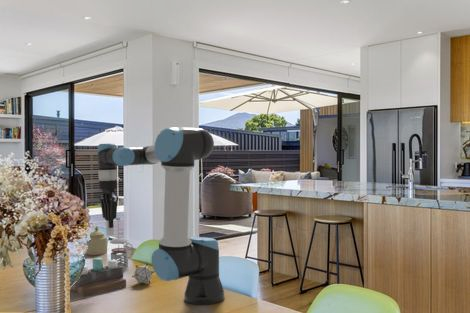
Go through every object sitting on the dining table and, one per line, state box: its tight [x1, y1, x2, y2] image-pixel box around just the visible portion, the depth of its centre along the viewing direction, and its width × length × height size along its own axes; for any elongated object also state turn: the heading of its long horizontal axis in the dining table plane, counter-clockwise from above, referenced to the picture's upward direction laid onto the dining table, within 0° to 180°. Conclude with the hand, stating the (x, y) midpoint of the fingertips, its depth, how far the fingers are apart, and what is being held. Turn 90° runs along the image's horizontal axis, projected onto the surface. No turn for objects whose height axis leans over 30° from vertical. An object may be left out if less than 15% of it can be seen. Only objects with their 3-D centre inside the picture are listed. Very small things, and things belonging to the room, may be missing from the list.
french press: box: [109, 217, 134, 273], centre depth 221 cm, size 10×12×25 cm
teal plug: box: [92, 257, 104, 272], centre depth 193 cm, size 4×4×6 cm
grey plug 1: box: [81, 264, 89, 275], centre depth 189 cm, size 4×4×6 cm
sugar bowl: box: [86, 226, 108, 256], centre depth 260 cm, size 15×11×15 cm
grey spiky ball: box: [131, 263, 155, 286], centre depth 198 cm, size 9×8×10 cm
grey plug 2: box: [107, 259, 118, 269], centre depth 197 cm, size 4×4×6 cm
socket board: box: [70, 265, 127, 297], centre depth 193 cm, size 14×19×8 cm
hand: (110, 235), depth 198 cm, fingers closed
